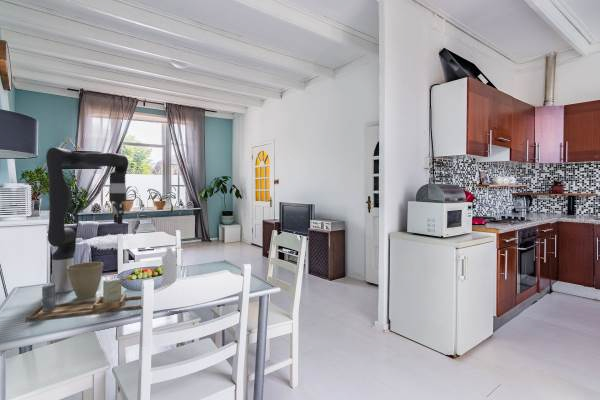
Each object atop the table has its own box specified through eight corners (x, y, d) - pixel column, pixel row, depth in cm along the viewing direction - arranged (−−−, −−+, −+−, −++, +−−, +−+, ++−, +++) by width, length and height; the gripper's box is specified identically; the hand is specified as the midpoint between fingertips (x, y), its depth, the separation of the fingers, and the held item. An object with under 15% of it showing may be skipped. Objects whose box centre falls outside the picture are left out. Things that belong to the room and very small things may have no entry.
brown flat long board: (25, 321, 126) (25, 317, 126) (41, 308, 140) (41, 304, 140) (147, 307, 142) (147, 303, 142) (150, 296, 156) (150, 293, 156)
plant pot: (88, 291, 165) (88, 261, 165) (110, 293, 161) (110, 262, 161) (59, 300, 151) (59, 267, 150) (83, 303, 147) (82, 269, 146)
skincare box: (107, 309, 140) (107, 282, 139) (102, 307, 142) (102, 280, 142) (122, 304, 145) (121, 278, 145) (117, 302, 147) (116, 277, 147)
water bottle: (167, 301, 150) (167, 249, 149) (159, 298, 153) (159, 248, 153) (183, 296, 157) (183, 246, 157) (175, 293, 161) (174, 245, 160)
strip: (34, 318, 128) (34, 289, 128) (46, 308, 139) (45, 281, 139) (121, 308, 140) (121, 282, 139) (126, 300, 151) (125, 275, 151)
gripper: (129, 192, 159) (129, 224, 159) (122, 192, 170) (123, 222, 170) (112, 192, 154) (112, 225, 154) (106, 192, 165) (107, 223, 165)
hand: (118, 223), depth 162 cm, fingers open, 8 cm apart
